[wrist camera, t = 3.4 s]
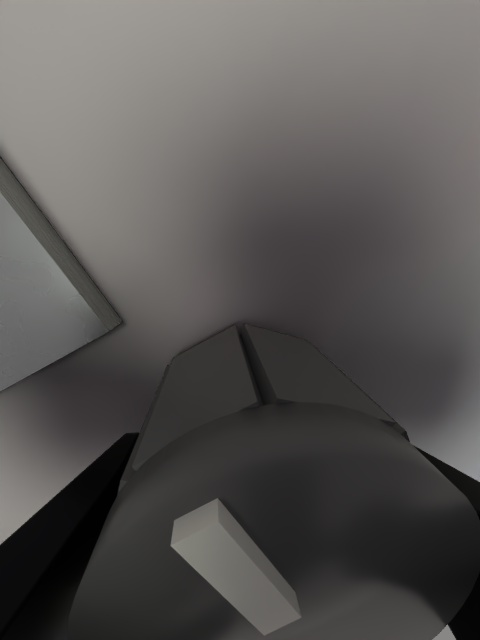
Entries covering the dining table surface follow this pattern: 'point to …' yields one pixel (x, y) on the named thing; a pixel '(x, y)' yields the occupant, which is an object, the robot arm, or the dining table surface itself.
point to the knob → (275, 511)
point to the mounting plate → (41, 290)
